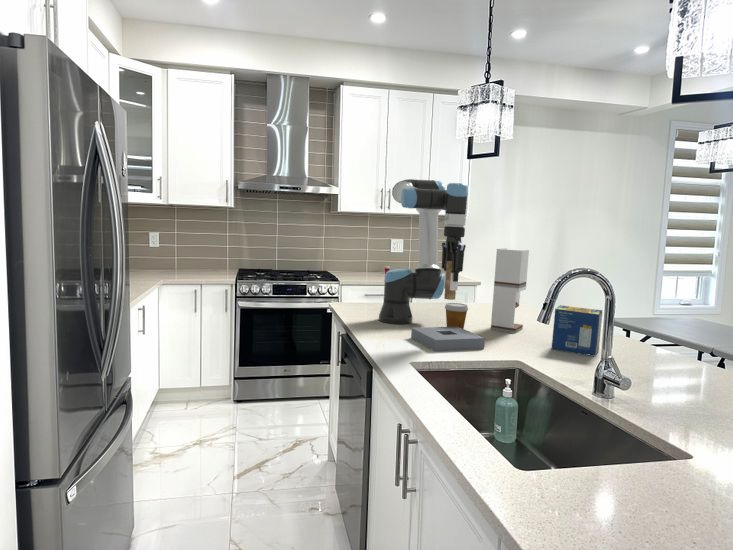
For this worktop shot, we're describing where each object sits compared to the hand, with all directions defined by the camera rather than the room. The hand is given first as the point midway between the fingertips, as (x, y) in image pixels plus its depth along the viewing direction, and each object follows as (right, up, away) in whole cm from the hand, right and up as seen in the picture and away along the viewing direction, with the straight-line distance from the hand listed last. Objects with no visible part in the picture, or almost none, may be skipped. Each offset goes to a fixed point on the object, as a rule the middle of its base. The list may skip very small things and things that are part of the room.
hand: (450, 289), depth 191 cm
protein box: (+47, -23, +2) cm, 52 cm away
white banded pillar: (+30, -19, +34) cm, 49 cm away
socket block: (-1, -20, +2) cm, 21 cm away
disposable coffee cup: (+5, -19, +20) cm, 28 cm away
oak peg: (0, -4, 0) cm, 4 cm away
